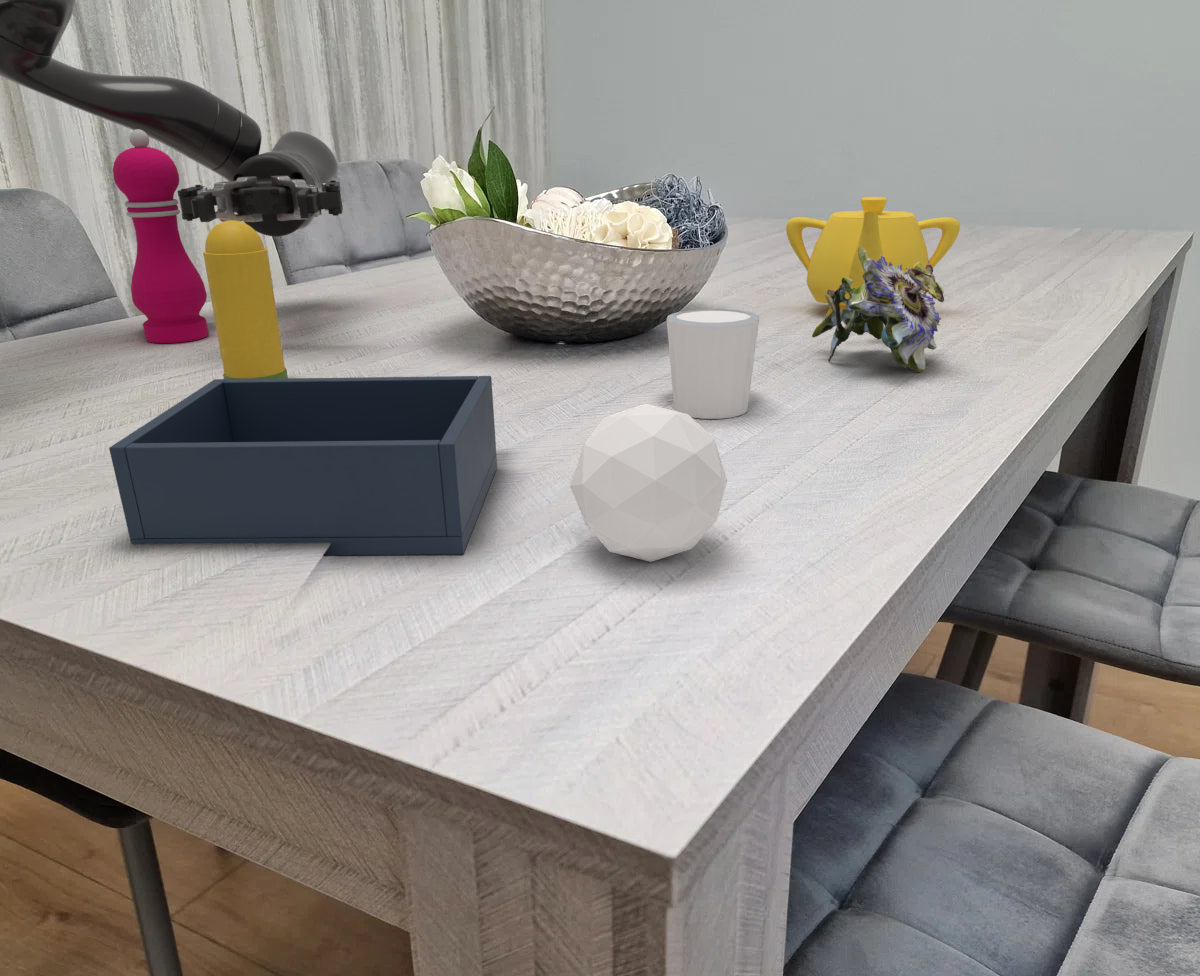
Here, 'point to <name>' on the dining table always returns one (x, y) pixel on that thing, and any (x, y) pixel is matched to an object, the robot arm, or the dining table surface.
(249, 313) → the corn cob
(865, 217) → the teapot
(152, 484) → the dark blue open box
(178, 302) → the pepper mill
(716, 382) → the shot glass
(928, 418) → the dining table surface
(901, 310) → the passion flower
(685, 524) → the geometric ball
